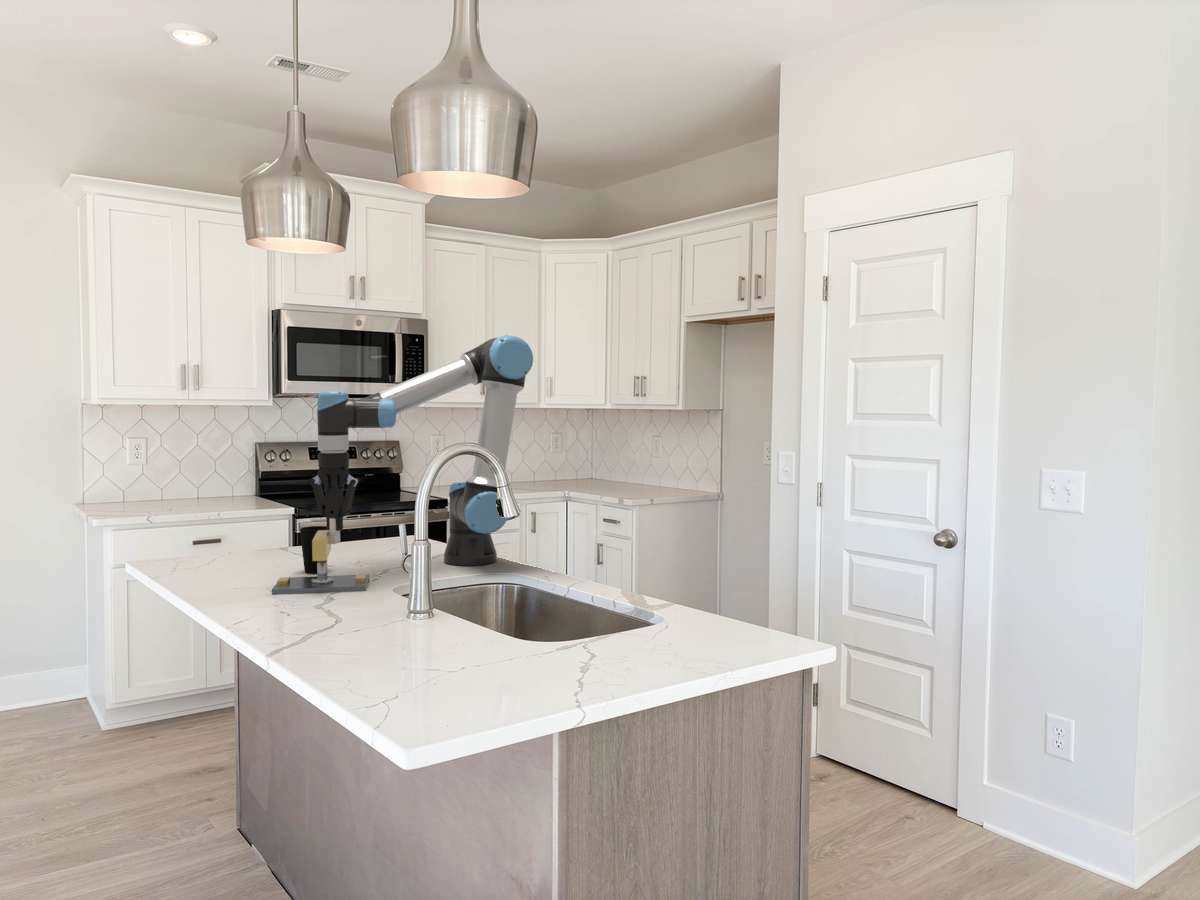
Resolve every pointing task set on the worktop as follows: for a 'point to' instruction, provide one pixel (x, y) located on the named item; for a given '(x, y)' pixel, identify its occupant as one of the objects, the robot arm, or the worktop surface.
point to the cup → (309, 547)
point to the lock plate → (321, 583)
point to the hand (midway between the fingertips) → (335, 542)
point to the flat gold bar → (321, 546)
